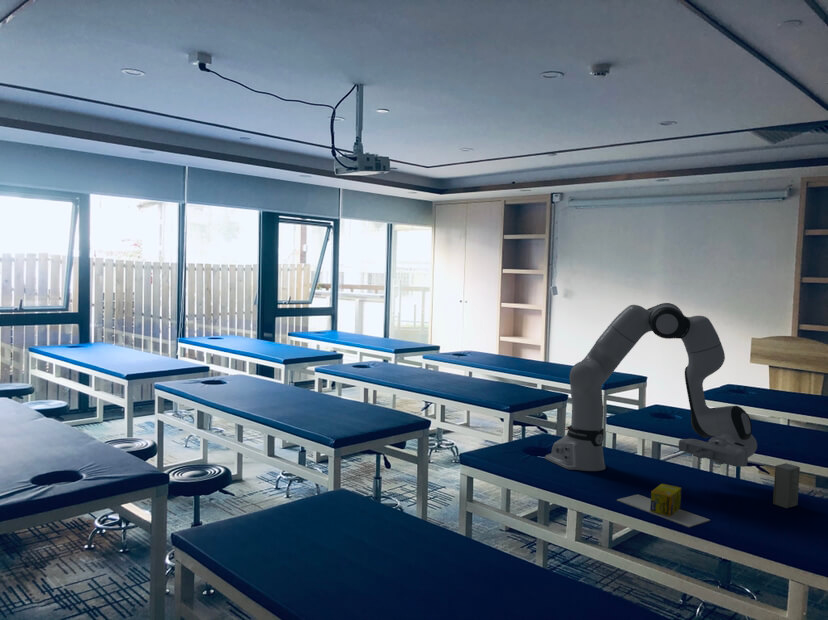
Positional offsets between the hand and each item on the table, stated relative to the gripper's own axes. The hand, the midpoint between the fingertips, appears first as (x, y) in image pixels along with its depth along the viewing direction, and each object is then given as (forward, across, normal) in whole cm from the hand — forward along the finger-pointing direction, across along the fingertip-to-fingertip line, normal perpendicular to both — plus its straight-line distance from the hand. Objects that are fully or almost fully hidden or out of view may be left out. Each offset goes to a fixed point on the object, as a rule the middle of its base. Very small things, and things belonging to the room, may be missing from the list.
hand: (697, 454), depth 195 cm
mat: (+20, +3, +14) cm, 25 cm away
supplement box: (+14, +1, +10) cm, 17 cm away
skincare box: (-19, +19, +13) cm, 29 cm away
